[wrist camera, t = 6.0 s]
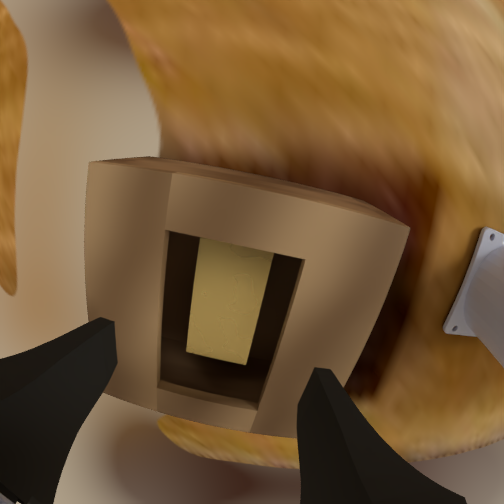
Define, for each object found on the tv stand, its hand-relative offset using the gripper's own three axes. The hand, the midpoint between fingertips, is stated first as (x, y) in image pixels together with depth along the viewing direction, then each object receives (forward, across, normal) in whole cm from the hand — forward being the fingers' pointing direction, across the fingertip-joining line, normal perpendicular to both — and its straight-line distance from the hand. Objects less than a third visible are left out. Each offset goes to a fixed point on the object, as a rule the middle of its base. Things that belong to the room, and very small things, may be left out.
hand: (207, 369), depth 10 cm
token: (+8, 0, 0) cm, 8 cm away
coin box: (+8, 0, 0) cm, 8 cm away
